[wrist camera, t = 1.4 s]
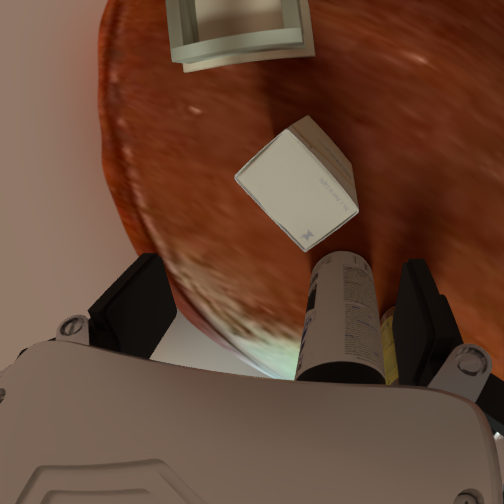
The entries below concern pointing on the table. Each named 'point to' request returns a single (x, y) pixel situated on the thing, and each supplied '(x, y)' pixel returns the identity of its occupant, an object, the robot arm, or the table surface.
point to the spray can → (341, 324)
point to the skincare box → (302, 183)
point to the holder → (237, 31)
